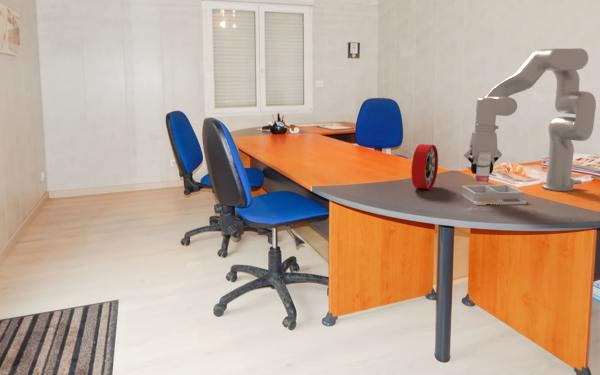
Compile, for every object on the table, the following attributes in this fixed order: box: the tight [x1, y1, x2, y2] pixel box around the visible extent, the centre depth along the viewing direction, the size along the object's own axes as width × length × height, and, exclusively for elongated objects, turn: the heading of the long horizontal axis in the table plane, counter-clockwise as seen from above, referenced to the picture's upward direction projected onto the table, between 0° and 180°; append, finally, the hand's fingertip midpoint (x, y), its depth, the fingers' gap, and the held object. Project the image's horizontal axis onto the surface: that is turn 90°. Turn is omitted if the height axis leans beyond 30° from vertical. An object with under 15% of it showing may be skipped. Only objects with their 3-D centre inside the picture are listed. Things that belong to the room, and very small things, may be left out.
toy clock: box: [410, 143, 439, 190], centre depth 222 cm, size 20×6×20 cm, turn 149°
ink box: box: [473, 152, 491, 183], centre depth 202 cm, size 9×5×12 cm, turn 169°
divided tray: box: [461, 184, 527, 206], centre depth 203 cm, size 20×17×4 cm
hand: (481, 172), depth 202 cm, fingers closed on ink box, 5 cm apart
